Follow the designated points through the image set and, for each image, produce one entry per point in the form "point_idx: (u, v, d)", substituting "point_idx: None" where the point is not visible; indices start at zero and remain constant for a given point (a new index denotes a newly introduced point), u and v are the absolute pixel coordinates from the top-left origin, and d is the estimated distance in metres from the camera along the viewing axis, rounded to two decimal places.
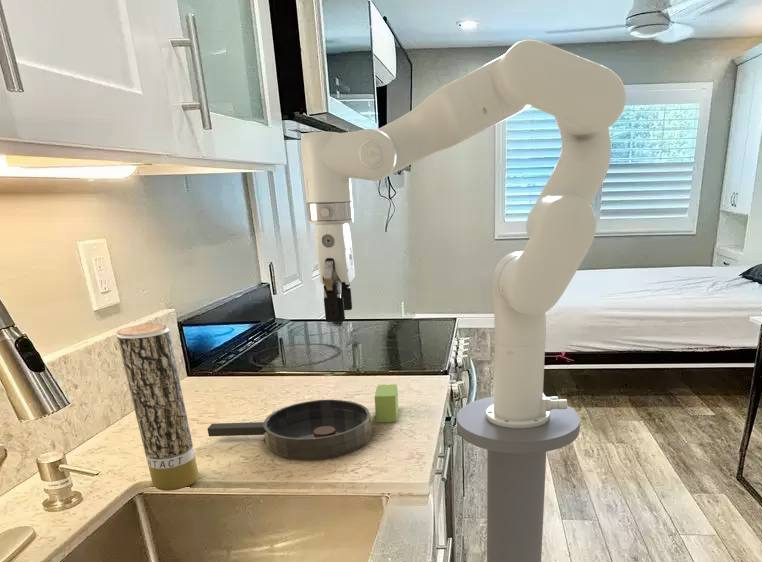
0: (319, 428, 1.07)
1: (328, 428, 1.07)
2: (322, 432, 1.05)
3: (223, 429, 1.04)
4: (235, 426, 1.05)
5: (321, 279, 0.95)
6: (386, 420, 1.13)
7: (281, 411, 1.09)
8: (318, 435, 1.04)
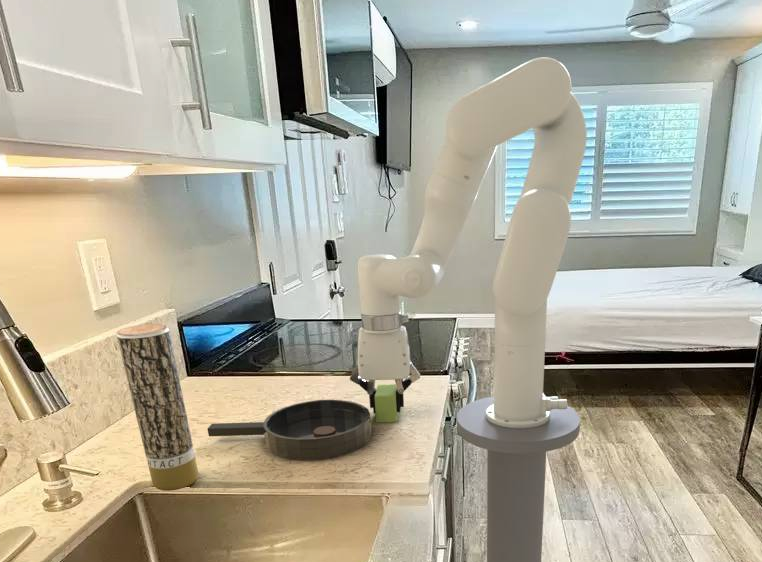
0: (319, 428, 1.07)
1: (328, 428, 1.07)
2: (322, 432, 1.05)
3: (223, 429, 1.04)
4: (235, 426, 1.05)
5: (408, 373, 1.11)
6: (386, 420, 1.13)
7: (281, 411, 1.09)
8: (318, 435, 1.04)
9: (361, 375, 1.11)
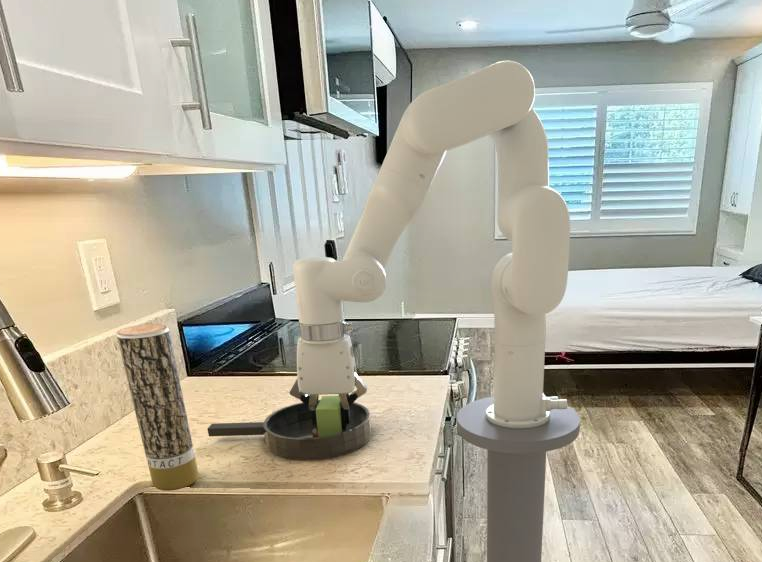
0: None
1: None
2: None
3: (223, 429, 1.04)
4: (235, 426, 1.05)
5: (353, 387, 1.01)
6: (329, 435, 1.03)
7: (281, 411, 1.09)
8: (317, 435, 1.04)
9: (301, 389, 1.01)
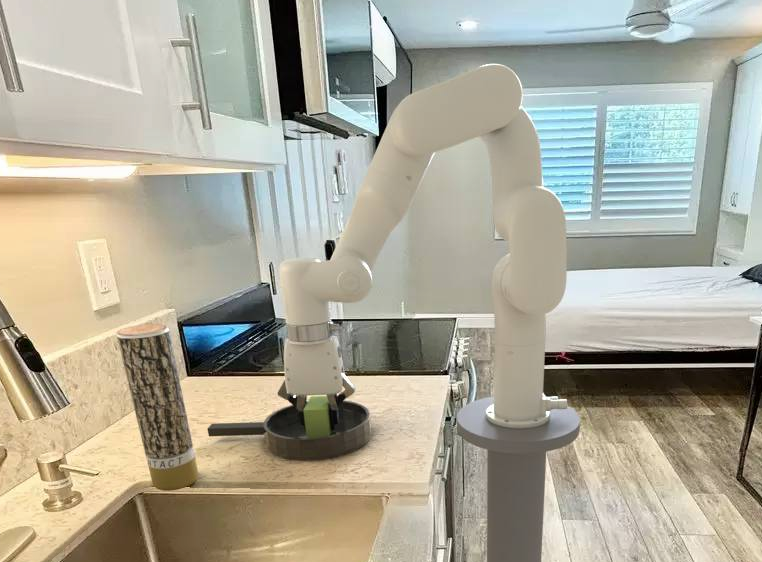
0: None
1: None
2: None
3: (223, 429, 1.04)
4: (235, 426, 1.05)
5: (341, 388, 1.01)
6: (317, 436, 1.03)
7: (281, 411, 1.09)
8: None
9: (289, 390, 1.01)
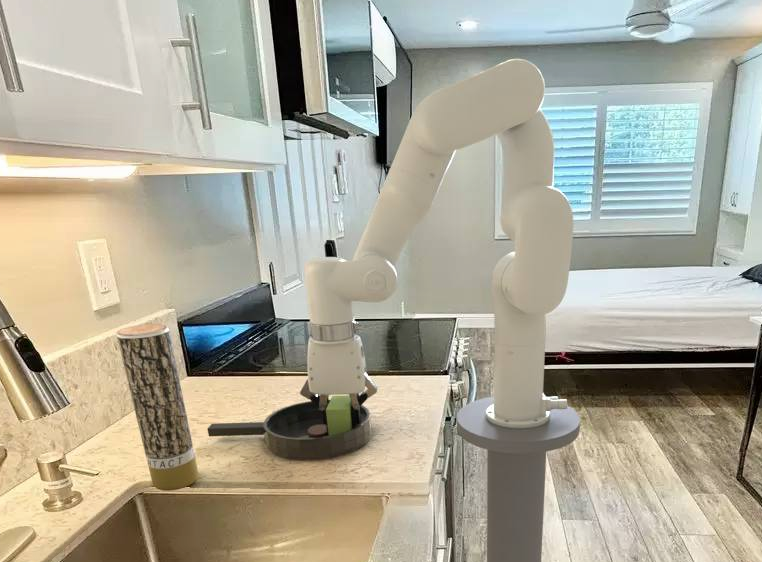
0: (315, 426, 1.07)
1: (323, 427, 1.07)
2: (315, 432, 1.05)
3: (223, 429, 1.04)
4: (235, 426, 1.05)
5: (364, 387, 1.01)
6: None
7: (281, 411, 1.09)
8: (310, 434, 1.05)
9: (311, 389, 1.01)
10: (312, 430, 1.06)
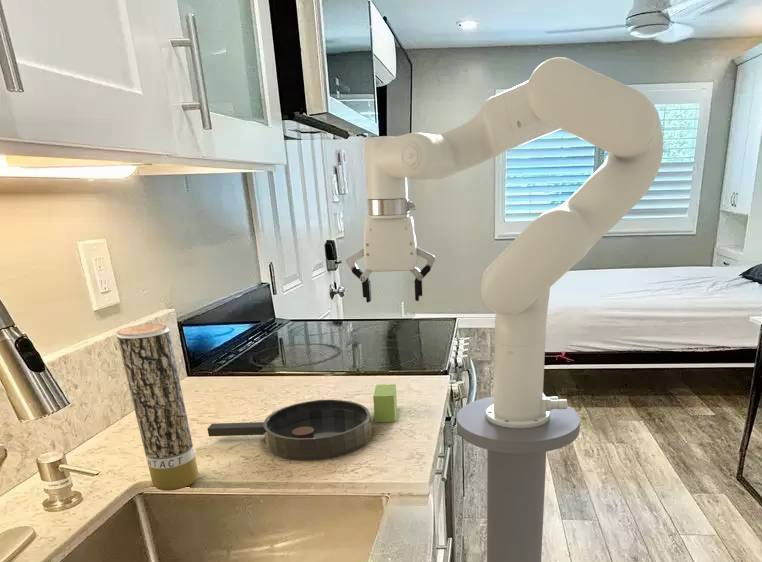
0: (299, 428, 1.07)
1: (307, 429, 1.07)
2: (299, 433, 1.05)
3: (223, 429, 1.04)
4: (235, 426, 1.05)
5: (415, 264, 1.09)
6: (385, 420, 1.13)
7: (281, 411, 1.09)
8: (294, 435, 1.05)
9: (367, 266, 1.09)
10: (296, 431, 1.06)
